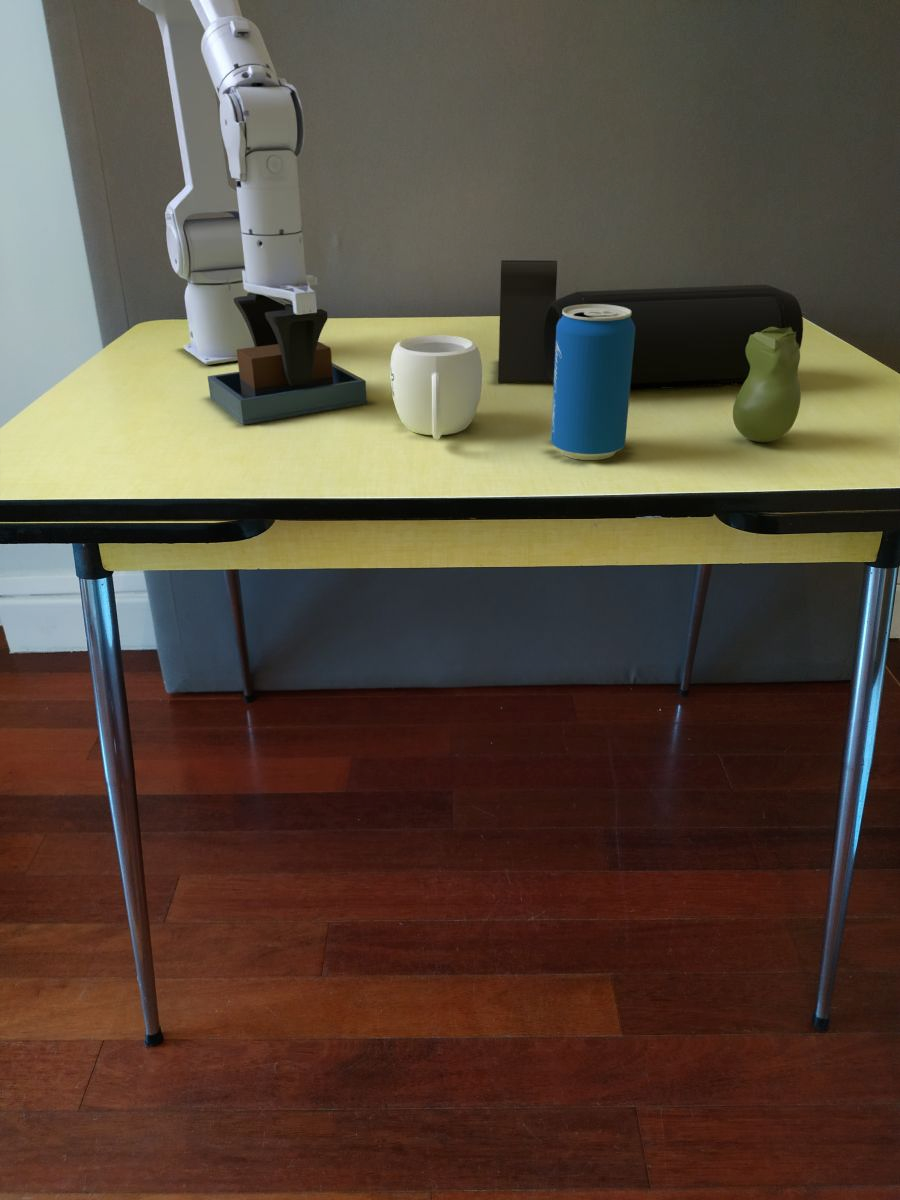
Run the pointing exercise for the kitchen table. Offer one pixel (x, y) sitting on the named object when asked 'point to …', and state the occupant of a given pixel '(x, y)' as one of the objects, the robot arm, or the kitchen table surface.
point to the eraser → (278, 370)
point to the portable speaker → (687, 330)
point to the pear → (769, 386)
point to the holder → (287, 397)
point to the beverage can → (592, 380)
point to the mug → (436, 383)
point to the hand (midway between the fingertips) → (285, 374)
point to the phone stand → (524, 319)
